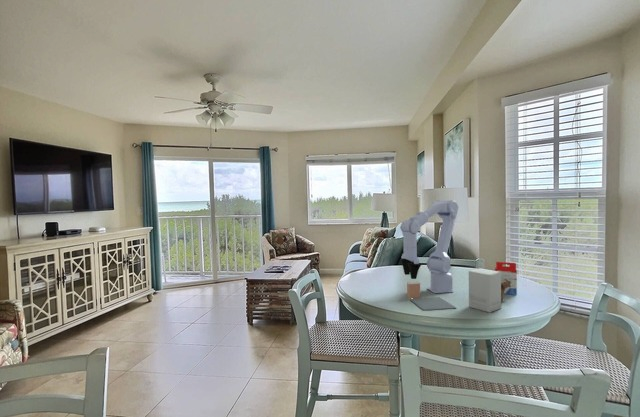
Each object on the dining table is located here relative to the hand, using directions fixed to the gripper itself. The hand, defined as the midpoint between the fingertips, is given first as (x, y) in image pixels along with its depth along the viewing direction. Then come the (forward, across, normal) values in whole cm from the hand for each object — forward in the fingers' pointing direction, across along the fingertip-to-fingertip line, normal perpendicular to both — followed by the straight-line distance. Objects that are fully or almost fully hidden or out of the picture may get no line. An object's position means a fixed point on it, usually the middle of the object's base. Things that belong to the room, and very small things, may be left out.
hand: (410, 276), depth 144 cm
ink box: (+10, 0, +46) cm, 47 cm away
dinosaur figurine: (+10, +10, +34) cm, 37 cm away
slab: (+9, +1, +1) cm, 10 cm away
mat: (+9, +10, +5) cm, 15 cm away
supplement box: (+10, +18, +24) cm, 32 cm away
